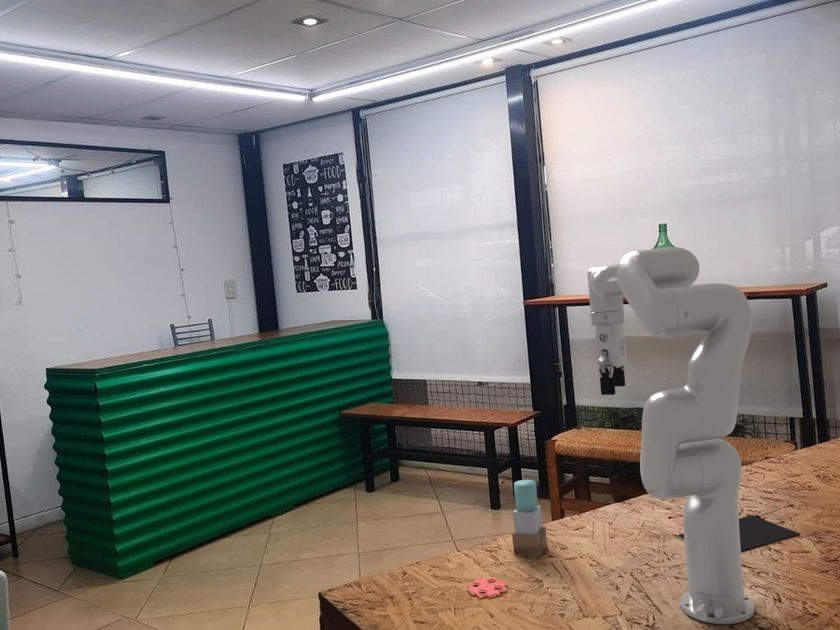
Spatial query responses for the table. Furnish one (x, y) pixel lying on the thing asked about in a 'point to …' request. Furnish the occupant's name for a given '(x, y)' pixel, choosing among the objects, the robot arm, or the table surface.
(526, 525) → the grey top block
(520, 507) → the teal cylinder
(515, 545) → the walnut base block
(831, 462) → the table surface
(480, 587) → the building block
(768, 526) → the black flat plate
